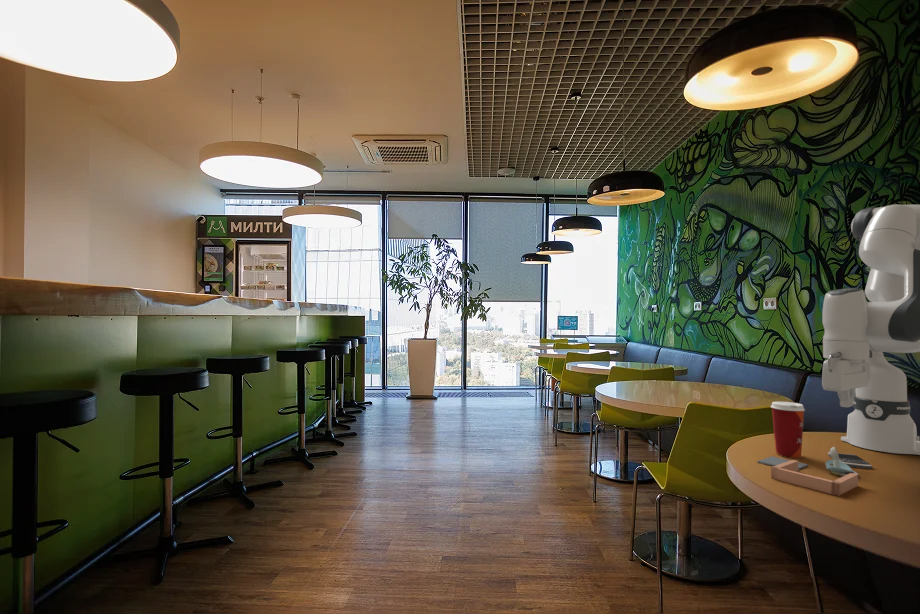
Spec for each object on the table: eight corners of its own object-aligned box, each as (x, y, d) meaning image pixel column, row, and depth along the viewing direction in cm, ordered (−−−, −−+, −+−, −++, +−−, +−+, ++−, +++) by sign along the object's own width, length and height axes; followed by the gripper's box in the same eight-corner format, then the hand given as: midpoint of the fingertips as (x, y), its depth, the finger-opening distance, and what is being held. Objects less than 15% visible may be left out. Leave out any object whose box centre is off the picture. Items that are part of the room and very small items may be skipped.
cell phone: (842, 468, 112) (842, 462, 112) (826, 456, 122) (826, 451, 123) (873, 471, 110) (873, 465, 110) (855, 459, 120) (854, 453, 120)
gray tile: (772, 457, 119) (772, 456, 119) (808, 466, 112) (808, 464, 112) (757, 462, 114) (757, 461, 114) (794, 471, 108) (794, 469, 108)
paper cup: (812, 460, 117) (811, 406, 118) (779, 458, 119) (778, 405, 119) (796, 451, 125) (795, 401, 125) (765, 450, 126) (765, 400, 127)
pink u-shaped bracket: (792, 469, 109) (792, 459, 109) (858, 485, 98) (857, 474, 98) (771, 478, 103) (771, 467, 103) (838, 496, 92) (838, 483, 92)
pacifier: (856, 473, 108) (824, 467, 111) (857, 447, 108) (825, 442, 111) (860, 482, 102) (826, 475, 105) (861, 454, 102) (827, 449, 105)
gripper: (845, 354, 105) (847, 413, 104) (875, 351, 116) (876, 404, 115) (813, 352, 110) (814, 408, 110) (844, 350, 121) (845, 401, 121)
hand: (846, 406), depth 113 cm, fingers closed
